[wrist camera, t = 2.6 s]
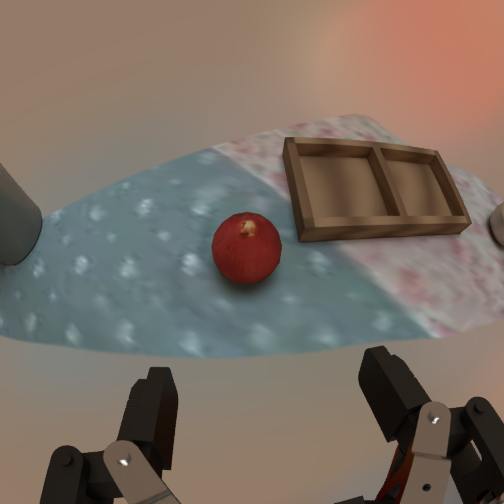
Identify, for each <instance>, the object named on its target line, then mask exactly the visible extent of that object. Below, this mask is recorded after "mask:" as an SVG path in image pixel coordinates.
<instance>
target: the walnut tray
mask: <svg viewBox="0 0 504 504" xmlns="http://www.w3.org/2000/svg"><path fill="white" fill-rule="evenodd" d="M282 156H283V161H284V165H285V170H286V175H287V180H288V185H289V190H290V195H291V200H292V206H293V211H294V216H295V222H296V228H297V233H298V239H299V242H311V241H328V240H347V239H365V238H384V237H404V236H425V235H446V234H460V233H461V232H462V231H463V230H465V229H466V228H467V227H468V226H469V225H470V224H472V222H471V219H470V217H469V214H468V212H467V209H466V207H465V205H464V202H463V200H462V198H461V196H460V194H459V191H458V189H457V187H456V185H455V183H454V181H453V179H452V177H451V175H450V173H449V171H448V169H447V167H446V165H445V164H444V162H443V160H442V158H441V156H440V154H439V153H438V151H435V150H430V149H424V148H417V147H411V146H404V145H396V144H388V143H379V142H370V141H359V140H346V139H329V138H303V137H285V142H284V148H283V153H282Z"/></svg>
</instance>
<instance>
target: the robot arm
mask: <svg viewBox="0 0 504 504" xmlns="http://www.w3.org/2000/svg"><path fill="white" fill-rule="evenodd" d="M41 224H42V215H41V212H40V209H39V208H38V206H37V205H36V204H35V203H34V202H33V201H32V200H31V199H30V198H29V197H28V196H27V194H26V193H25V192H24V191H23V190H22V188H21V187H20V186H19V185H18V184H17V183H16V182H15V180H14V179H13V178H12V177H11V176H10V174H9V173H8V172H7V170H6V169H5V168H4V167H3V166H2V164H1V163H0V261H1V262H2V263H4V264H6V265H14V264H16V263H18V262H20V261H21V260H22V259H23V258H25V257H26V256H27V254H28V253H29V252H30V251H31V249H32V248H33V246H34V244H35V242H36V240H37V238H38V236H39V232H40V229H41ZM358 380H359V385H360V387H361V389H362V392H363V394H364V396H365V398H366V400H367V402H368V404H369V405H370V408H371V410H372V412H373V414H374V416H375V418H376V420H377V422H378V424H379V426H380V428H381V430H382V432H383V434H384V437H385V439H386V441H387V442H390V441H394V440H397V441H398V443H399V444H398V446H397V448H396V451H395V454H394V457H393V460H392V463H391V466H390V469H389V472H388V475H387V478H386V480H385V482H384V484H383V486H382V488H381V490H380V491H379V493H378V494H377V496H376V499H375V501H374V500H364V498H363V496H359V497H356V498H353V499H349V500H345V501H342V502H338V503H334V504H443V500H444V496H445V492H446V488H447V483H448V479H449V474H451V476H452V478H453V480H454V482H455V485H456V487H457V490H458V492H459V494H460V497H461V499H462V501H463V504H504V424H503V422H502V420H501V419H500V417H499V416H498V414H497V413H496V411H495V410H494V408H493V407H492V406H491V404H490V403H489V402H488V401H487V400H486V399H484V398H482V397H473V398H471V399H470V400H469V401H468V402H467V404H466V405H465V406H464V407H457V408H447V407H446V406H445V405H444V404H442V403H440V402H432V401H431V399H430V398H429V397H428V395H427V394H426V392H425V390H424V389H423V388H422V386H421V385H420V383H419V382H418V380H417V379H416V378H415V377H414V375H413V373H412V372H411V371H410V370H409V368H408V366H407V365H406V363H405V362H404V361H403V360H402V359H400V358H399V357H397V356H396V355H390V353H389V352H388V351H387V349H386V348H385V347H384V346H378V347H373V348H368V349H366V350H365V353H364V356H363V360H362V364H361V367H360V371H359V375H358ZM177 410H178V393H177V389H176V386H175V383H174V380H173V377H172V373H171V370H170V368H169V367H151V368H150V369H149V372H148V376H147V379H139V380H138V381H137V382H136V383H135V384H134V386H133V387H132V388H131V392H130V395H129V400H128V402H127V405H126V408H125V412H124V415H123V420H122V423H121V426H120V430H119V434H118V437H117V440H116V441H115V442H113V443H111V444H110V445H109V446H108V447H107V448H106V449H105V450H103V451H99V452H88V453H81V452H80V451H79V450H78V449H77V448H75V447H73V446H68V445H66V446H61V447H59V448H57V449H56V450H55V451H54V452H53V454H52V456H51V460H50V463H49V467H48V470H47V474H46V478H45V482H44V486H43V491H42V495H41V499H40V504H113V501H114V498H121V497H124V498H125V499H126V501H127V502H128V504H181V503H180V502H179V500H178V499H177V498H176V497H175V496H174V494H173V493H172V492H171V491H170V489H169V488H168V487H167V486H166V484H165V483H164V482H163V480H162V470H171V465H172V454H173V445H174V436H175V427H176V419H177ZM472 439H473V441H474V443H475V445H476V446H477V448H478V450H479V452H480V454H481V457H482V461H481V460H480V458H479V457H478V455H477V453H476V451H475V449H474V447H473V445H472V443H471V442H470V441H471V440H472Z"/></svg>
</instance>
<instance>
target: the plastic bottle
mask: <svg viewBox="0 0 504 504" xmlns="http://www.w3.org/2000/svg"><path fill="white" fill-rule="evenodd" d="M490 226H491V230H492V233H493V235H494V237H495V238H496V240H497V241H498V242H499V243H500V244H501V245H503V246H504V202H503V203H501V204H500V205H498V206H497V207H496V208H495V210H494V211H493V212H492V214H491V218H490Z"/></svg>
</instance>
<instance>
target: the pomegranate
mask: <svg viewBox="0 0 504 504" xmlns="http://www.w3.org/2000/svg"><path fill="white" fill-rule="evenodd" d="M281 250H282V244H281V240H280V236H279V233H278V231H277V229H276V228H275V227H274V225H273V224H272V223H271V222H270V221H269V220H267V219H266V218H265V217H263V216H262V215H260V214H255V213H250V212H244V213H239V214H234V215H232V216H231V217H229V218H228V219H227V220H225V221H224V222H222V224H221V225H220V227H219V228H218V229H217V231H216V232H215V234H214V238H213V243H212V253H213V258H214V262H215V264H216V265H217V267H218V268H219V270H220V271H221V273H222V274H223V275H224V276H226V277H227V278H229V279H230V280H232V281H233V282H238V283H244V284H249V283H254V282H259V281H261V280H262V279H264V278H266V277H267V276H269V275H270V274H271V273H272V272H273V271H274V269H275V268H276V267H277V265H278V264H279V262H280V256H281Z"/></svg>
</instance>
